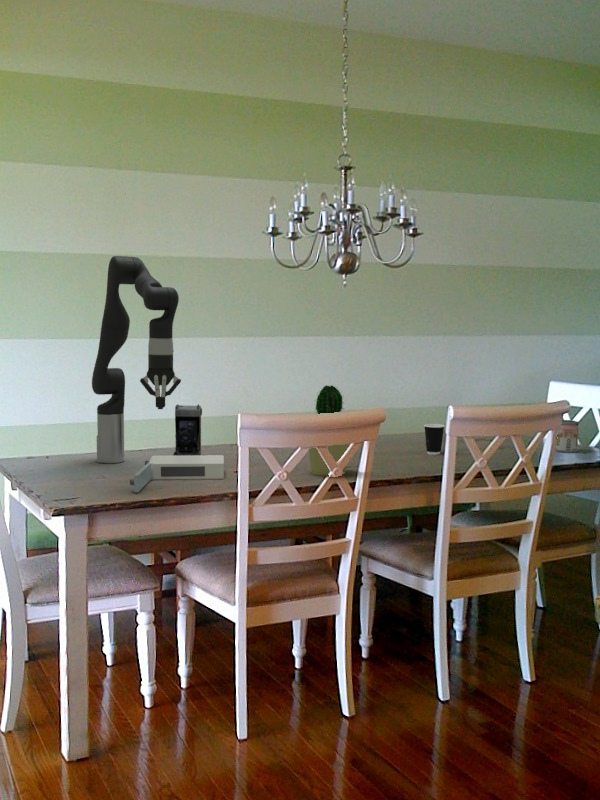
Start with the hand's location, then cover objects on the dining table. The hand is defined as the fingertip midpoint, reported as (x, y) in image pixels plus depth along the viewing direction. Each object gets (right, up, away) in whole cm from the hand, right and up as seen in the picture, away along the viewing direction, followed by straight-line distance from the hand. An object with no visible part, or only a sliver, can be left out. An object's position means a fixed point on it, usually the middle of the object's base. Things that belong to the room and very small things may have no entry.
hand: (160, 408), depth 268 cm
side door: (-6, -23, -1) cm, 24 cm away
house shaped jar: (+148, -18, +73) cm, 166 cm away
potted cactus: (+52, -22, +24) cm, 62 cm away
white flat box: (+6, -22, +19) cm, 29 cm away
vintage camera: (+3, -19, +44) cm, 48 cm away
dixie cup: (+94, -18, +64) cm, 115 cm away
